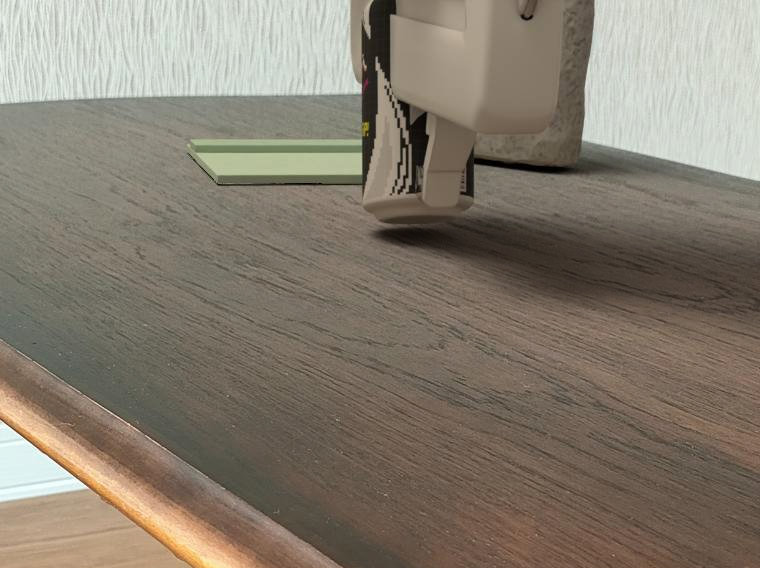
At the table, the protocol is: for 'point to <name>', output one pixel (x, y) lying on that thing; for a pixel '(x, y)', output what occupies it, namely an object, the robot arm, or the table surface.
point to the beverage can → (395, 136)
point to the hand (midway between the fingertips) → (431, 202)
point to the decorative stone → (568, 118)
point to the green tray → (279, 160)
